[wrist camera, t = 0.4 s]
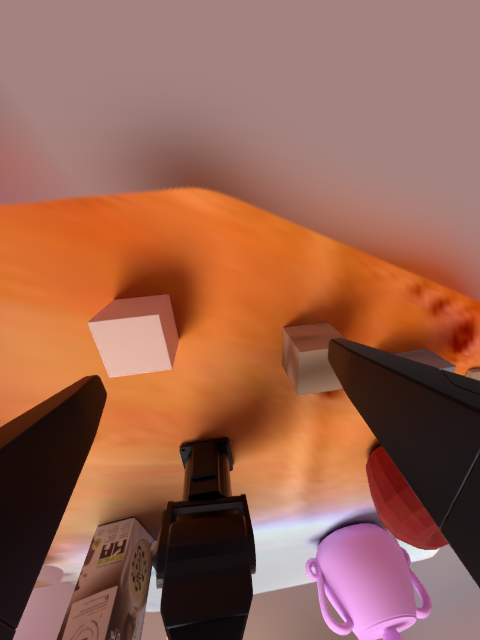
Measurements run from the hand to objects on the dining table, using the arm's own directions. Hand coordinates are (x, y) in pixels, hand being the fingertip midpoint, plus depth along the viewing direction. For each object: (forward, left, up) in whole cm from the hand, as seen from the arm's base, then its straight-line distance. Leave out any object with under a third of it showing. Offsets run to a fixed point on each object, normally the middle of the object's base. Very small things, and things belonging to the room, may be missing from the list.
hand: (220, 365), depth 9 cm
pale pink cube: (-3, +7, -14) cm, 15 cm away
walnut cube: (-8, -9, -14) cm, 18 cm away
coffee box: (-40, +19, -14) cm, 47 cm away
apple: (-30, -23, -14) cm, 41 cm away
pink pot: (-60, -21, -14) cm, 65 cm away
